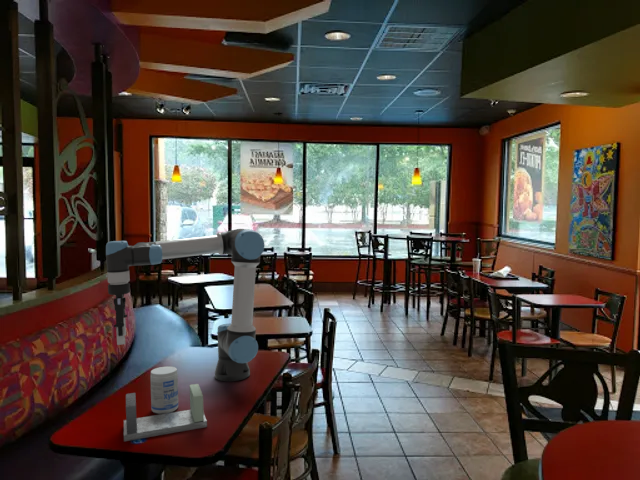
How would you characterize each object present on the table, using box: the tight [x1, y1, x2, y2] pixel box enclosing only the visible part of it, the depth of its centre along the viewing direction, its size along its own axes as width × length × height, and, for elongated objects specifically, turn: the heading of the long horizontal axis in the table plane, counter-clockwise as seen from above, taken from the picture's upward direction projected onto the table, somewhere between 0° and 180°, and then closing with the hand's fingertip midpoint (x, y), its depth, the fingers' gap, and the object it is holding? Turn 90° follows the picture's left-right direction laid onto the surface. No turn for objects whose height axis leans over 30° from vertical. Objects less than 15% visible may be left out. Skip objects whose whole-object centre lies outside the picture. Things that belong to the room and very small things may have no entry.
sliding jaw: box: [189, 383, 205, 422], centre depth 170 cm, size 3×12×9 cm, turn 21°
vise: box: [123, 392, 208, 442], centre depth 166 cm, size 26×12×11 cm, turn 111°
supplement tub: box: [150, 366, 179, 415], centre depth 180 cm, size 10×10×15 cm
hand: (121, 339), depth 183 cm, fingers open, 13 cm apart
